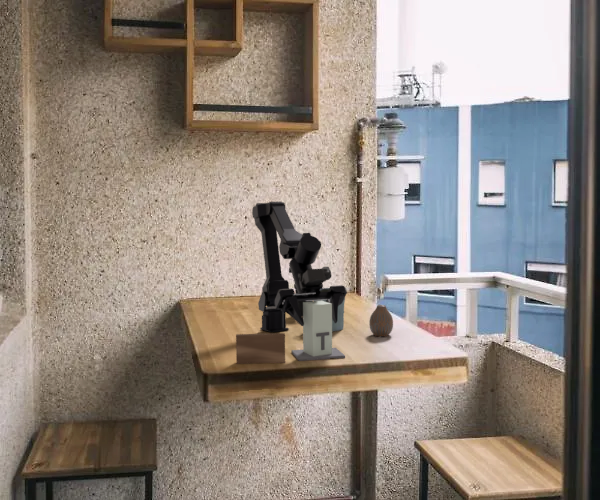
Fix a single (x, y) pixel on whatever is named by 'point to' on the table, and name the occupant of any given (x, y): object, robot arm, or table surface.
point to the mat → (304, 356)
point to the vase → (381, 321)
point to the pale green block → (317, 328)
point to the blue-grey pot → (340, 320)
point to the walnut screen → (260, 348)
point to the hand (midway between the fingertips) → (319, 323)
